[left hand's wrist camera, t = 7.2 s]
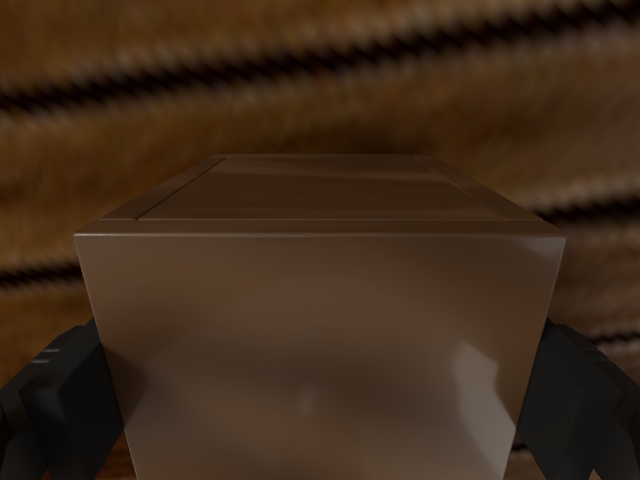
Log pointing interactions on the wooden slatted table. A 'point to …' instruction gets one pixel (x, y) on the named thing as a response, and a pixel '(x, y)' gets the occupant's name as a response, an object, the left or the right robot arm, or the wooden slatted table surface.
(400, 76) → the wooden slatted table surface
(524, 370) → the cabinet
